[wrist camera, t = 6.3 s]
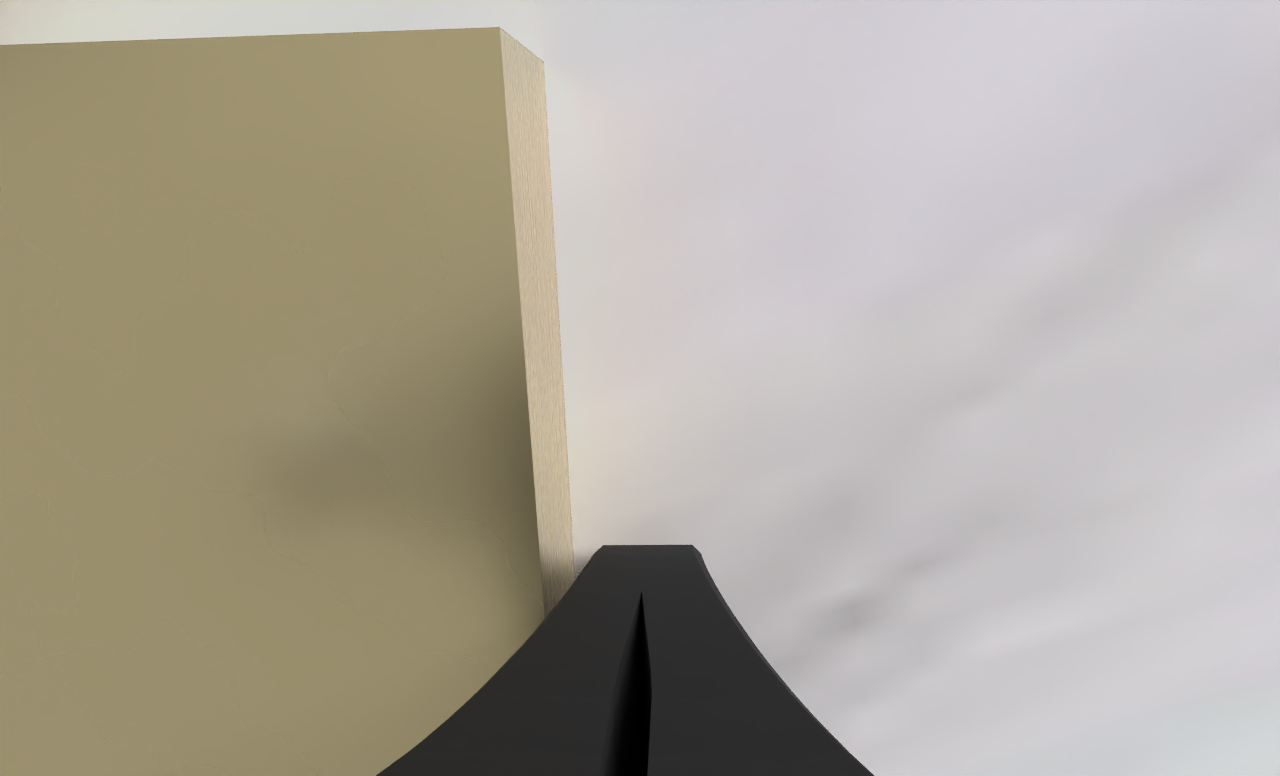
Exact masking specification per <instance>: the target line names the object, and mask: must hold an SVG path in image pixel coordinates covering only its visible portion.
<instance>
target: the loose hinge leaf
mask: <svg viewBox="0 0 1280 776" xmlns="http://www.w3.org/2000/svg"><path fill="white" fill-rule="evenodd" d="M574 582H575V569H574V553H573V536H572V520H571V504H570V487H569V471H568V454H567V438H566V422H565V405H564V389H563V372H562V356H561V339H560V323H559V307H558V290H557V274H556V257H555V241H554V225H553V208H552V192H551V175H550V159H549V142H548V126H547V110H546V93H545V77H544V62H543V61H542V60H541V59H540V58H538V57H537V56H536V55H534V54H533V53H532V52H531V51H529V50H528V49H527V48H526V47H524V46H523V45H522V44H520V43H519V42H518V41H517V40H515V39H514V38H513V37H512V36H510V35H509V34H508V33H507V32H505V31H504V30H503V29H501V28H500V27H492V28H464V29H436V30H408V31H381V32H353V33H325V34H297V35H269V36H241V37H213V38H185V39H158V40H130V41H102V42H74V43H46V44H18V45H0V776H376V775H377V774H379V773H380V772H381V771H383V770H384V769H385V768H387V767H388V766H390V765H391V764H392V763H394V762H395V761H396V760H398V759H399V758H400V757H402V756H403V755H405V754H406V753H407V752H409V751H410V750H411V749H412V748H414V747H415V746H416V745H417V744H419V743H420V742H421V741H422V740H424V739H425V738H426V737H427V736H428V735H430V734H431V733H432V732H433V731H434V730H435V729H437V728H438V727H439V726H440V725H441V724H442V723H444V722H445V721H446V720H447V719H448V718H449V717H450V716H452V715H453V714H454V713H455V712H456V711H457V710H458V709H459V708H460V707H461V706H463V705H464V704H465V703H466V702H467V701H468V700H469V699H470V698H471V697H472V696H473V695H474V694H475V693H476V692H477V691H478V690H479V689H480V688H481V687H482V686H483V685H485V684H486V682H487V681H488V680H489V679H490V678H491V677H492V676H493V675H494V674H495V673H496V672H497V671H498V670H499V669H500V668H501V667H502V666H503V665H504V664H505V663H506V662H507V660H508V659H509V658H510V657H511V656H512V655H513V654H514V653H515V652H516V651H517V650H518V649H519V648H520V647H521V646H522V645H523V644H524V643H525V641H526V640H527V639H528V638H529V637H530V636H531V635H532V634H533V632H534V631H535V630H536V629H537V628H538V626H539V625H540V624H541V623H542V622H543V620H544V619H545V618H546V617H547V616H548V614H549V613H550V612H551V611H552V610H553V608H554V607H555V606H556V605H557V604H558V602H559V601H560V600H561V599H562V597H563V596H564V595H565V593H566V592H567V591H568V589H569V588H570V587H571V586H572V584H573V583H574Z"/></svg>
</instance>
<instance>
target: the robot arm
mask: <svg viewBox="0 0 1280 776" xmlns="http://www.w3.org/2000/svg"><path fill="white" fill-rule="evenodd" d="M376 776H874V775H873V774H872V773H871V772H870V771H869V770H868V769H867V768H865V767H864V766H863V765H862V764H861V763H860V762H859V761H858V760H857V759H856V758H855V757H854V756H853V755H852V754H850V753H849V752H848V751H847V750H846V749H845V748H844V747H843V746H842V744H841V743H840V742H839V741H838V740H837V739H836V738H835V737H834V736H833V735H832V734H831V733H830V732H829V731H828V730H827V729H826V728H825V727H824V726H823V725H822V724H821V723H820V722H819V721H818V720H817V719H816V718H815V717H814V716H813V715H812V713H811V712H810V711H809V710H808V709H807V708H806V707H805V706H804V705H803V703H802V702H801V701H800V700H799V699H798V698H797V697H796V696H795V694H794V693H793V692H792V691H791V690H790V689H789V687H788V686H787V685H786V684H785V682H784V681H783V680H782V679H781V678H780V676H779V675H778V674H777V673H776V671H775V670H774V669H773V668H772V667H771V665H770V664H769V663H768V662H767V660H766V659H765V658H764V656H763V655H762V654H761V652H760V651H759V650H758V648H757V647H756V646H755V644H754V643H753V642H752V640H751V639H750V637H749V636H748V634H747V633H746V632H745V630H744V629H743V627H742V626H741V624H740V623H739V621H738V620H737V619H736V617H735V616H734V614H733V613H732V611H731V610H730V608H729V607H728V605H727V603H726V602H725V600H724V599H723V597H722V595H721V593H720V592H719V590H718V588H717V587H716V585H715V583H714V581H713V579H712V578H711V576H710V574H709V572H708V570H707V568H706V566H705V563H704V561H703V558H702V555H701V553H700V552H699V551H698V550H697V549H696V548H695V547H694V546H693V545H603V546H602V547H601V548H600V549H599V550H598V551H597V552H595V553H594V555H593V556H592V558H591V559H590V561H589V562H588V564H587V565H586V566H585V568H584V569H583V571H582V572H581V573H580V575H579V576H578V578H577V579H576V580H575V582H574V583H573V584H572V586H571V587H570V588H569V589H568V591H567V592H566V593H565V595H564V596H563V597H562V599H561V600H560V601H559V602H558V604H557V605H556V606H555V607H554V608H553V610H552V611H551V612H550V613H549V614H548V616H547V617H546V618H545V619H544V620H543V622H542V623H541V624H540V625H539V626H538V628H537V629H536V630H535V631H534V632H533V634H532V635H531V636H530V637H529V638H528V639H527V640H526V641H525V643H524V644H523V645H522V646H521V647H520V648H519V649H518V650H517V651H516V652H515V653H514V654H513V655H512V656H511V657H510V658H509V659H508V660H507V662H506V663H505V664H504V665H503V666H502V667H501V668H500V669H499V670H498V671H497V672H496V673H495V674H494V675H493V676H492V677H491V678H490V679H489V680H488V681H487V682H486V684H485V685H483V686H482V687H481V688H480V689H479V690H478V691H477V692H476V693H475V694H474V695H473V696H472V697H471V698H470V699H469V700H468V701H467V702H466V703H465V704H464V705H463V706H461V707H460V708H459V709H458V710H457V711H456V712H455V713H454V714H453V715H452V716H450V717H449V718H448V719H447V720H446V721H445V722H444V723H442V724H441V725H440V726H439V727H438V728H437V729H435V730H434V731H433V732H432V733H431V734H430V735H428V736H427V737H426V738H425V739H424V740H422V741H421V742H420V743H419V744H417V745H416V746H415V747H414V748H412V749H411V750H410V751H409V752H407V753H406V754H405V755H403V756H402V757H400V758H399V759H398V760H396V761H395V762H394V763H392V764H391V765H390V766H388V767H387V768H385V769H384V770H383V771H381V772H380V773H379V774H377V775H376Z"/></svg>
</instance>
